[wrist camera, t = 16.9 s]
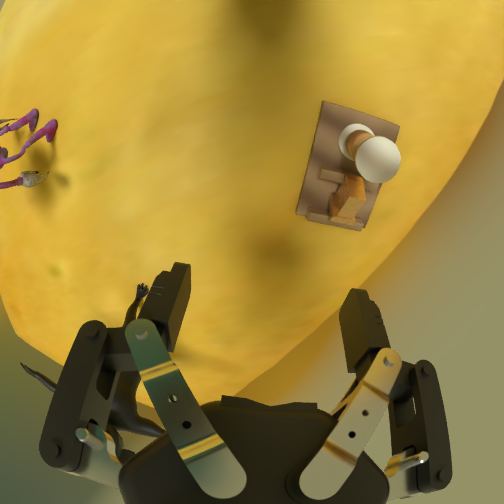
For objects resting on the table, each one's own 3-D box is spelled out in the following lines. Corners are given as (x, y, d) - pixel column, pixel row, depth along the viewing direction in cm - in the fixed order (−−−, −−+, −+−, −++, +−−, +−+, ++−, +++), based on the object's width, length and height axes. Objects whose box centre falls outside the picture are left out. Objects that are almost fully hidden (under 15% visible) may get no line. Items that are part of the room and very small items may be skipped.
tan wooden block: (329, 196, 40) (343, 171, 34) (350, 201, 40) (366, 177, 34) (329, 220, 38) (345, 196, 32) (352, 225, 38) (370, 202, 32)
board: (322, 100, 32) (340, 107, 24) (396, 125, 33) (431, 141, 24) (295, 210, 43) (301, 248, 34) (362, 224, 43) (381, 262, 35)
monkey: (243, 316, 59) (222, 503, 26) (214, 357, 70) (191, 496, 38) (80, 249, 51) (-15, 403, 19) (82, 303, 62) (22, 428, 30)
